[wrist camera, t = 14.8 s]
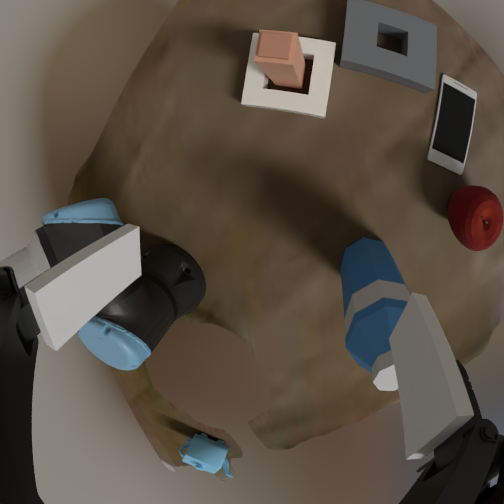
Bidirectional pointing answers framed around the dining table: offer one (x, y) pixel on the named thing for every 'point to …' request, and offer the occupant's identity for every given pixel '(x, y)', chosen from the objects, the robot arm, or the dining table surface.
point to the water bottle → (372, 307)
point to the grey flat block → (385, 61)
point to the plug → (281, 58)
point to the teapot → (206, 454)
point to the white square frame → (290, 101)
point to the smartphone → (452, 125)
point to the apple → (475, 217)
